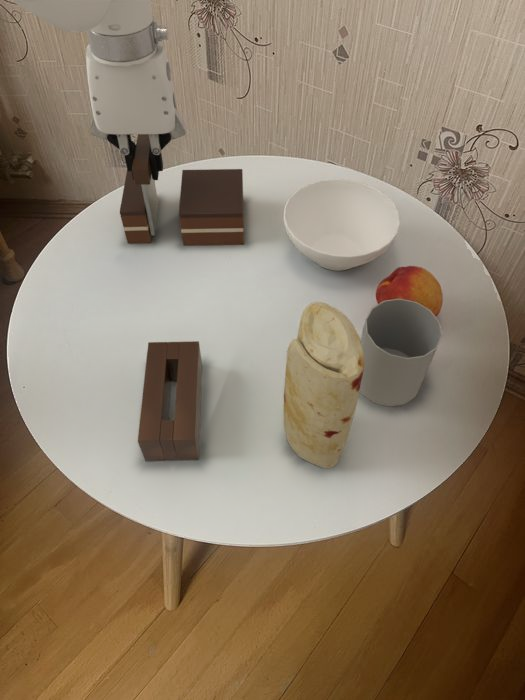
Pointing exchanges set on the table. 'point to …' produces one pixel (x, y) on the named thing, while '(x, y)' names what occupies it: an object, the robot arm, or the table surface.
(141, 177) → the knife
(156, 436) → the knife block
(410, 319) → the cup
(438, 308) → the fruit
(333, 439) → the food model
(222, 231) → the cake
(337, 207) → the bowl
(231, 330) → the table surface
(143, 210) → the cake slice
